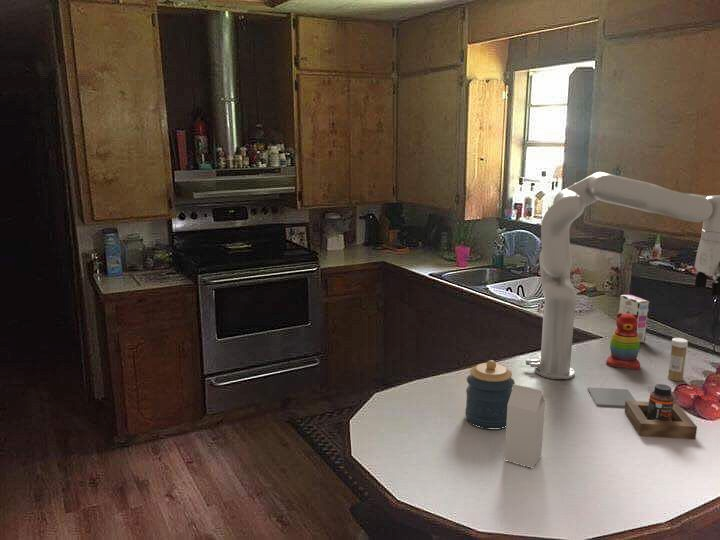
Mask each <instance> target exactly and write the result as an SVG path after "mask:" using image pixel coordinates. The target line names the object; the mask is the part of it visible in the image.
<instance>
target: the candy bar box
mask: <svg viewBox="0 0 720 540" xmlns="http://www.w3.org/2000/svg"><path fill="white" fill-rule="evenodd" d="M649 307H650V301H649V300H646V299H645V298H644V299H643V298H642V297H639V296H636V295H633V294H621V295H620V297H619V307H618V314H619V313H621V314H631V315H633V314H636V315H637V316H638V318H637V321H638V325H637V328H636V329H635V330H636V331H637V333H638V336H639V342H640V344H643V343H646V336H647V326H648V319H649V318H648V317H649V310H650V308H649ZM616 329H618V327H617V326H616Z"/></svg>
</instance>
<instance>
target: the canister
mask: <svg viewBox="0 0 720 540" xmlns="http://www.w3.org/2000/svg"><path fill="white" fill-rule="evenodd" d="M469 372H470V374H469V375H468V376H467V377H466V382H467V383H468V384H467V387H466V389H465V390H466V405H465V412H464V413H465V419H466V418H467V419H466V421H467V420H468V421H469V422H470V423H472V424H474V425H477V426H480V427H483V428H502V427H505V426H506V422H507V404H508V401H509V398H510V395H511V392H512V389H513V384H516V383H515V380H514V379H513V373H512V371H511V370H510V369H508V368H506V367H505V366H504V365H502V364H498V363H497V362H495V360H492V359H489V360H488V361H487V362H482V363H479V364H476V365H474V366H473V367H471V369H470V370H469ZM468 421H467V422H468ZM469 422H468V423H469ZM470 423H469V424H470ZM472 424H471V425H472ZM474 425H473V426H474Z"/></svg>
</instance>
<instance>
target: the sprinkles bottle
mask: <svg viewBox="0 0 720 540" xmlns="http://www.w3.org/2000/svg"><path fill="white" fill-rule="evenodd" d="M688 343H689V341H688V340H687V339H686V338H682V337H673V338H672V339H671V349H670V357H669V365H668V375H667V379H669V380H671V381H674V382H682V381H683V380H684V372H685V367H686V366H685V365H686V355H687V347H688V345H689V344H688Z"/></svg>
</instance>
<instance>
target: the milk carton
mask: <svg viewBox="0 0 720 540" xmlns="http://www.w3.org/2000/svg"><path fill="white" fill-rule="evenodd" d="M545 407H546V399H545V397H544V396H543V389H538V388H534V387H533V388H532V387H528V386H524V385H520V384H516V383H515V384H513V387H512V392H511V395H510V398H509V401H508V404H507V422H506V428H505V442H504V443H505V444H504V459H505V460H508V461H511V462H515V463H518V464H522V465H525V466H529V467H532V468H533V467H534V468H535V467H536V465H537V462H538V461H539V460H540V458H541V457H542V454H543V453H542V452H543V451H542V449H543V438H544V437H543V436H544V423H545V422H544V421H545V410H546V409H545ZM540 456H541V457H540ZM504 459H503V460H504ZM505 460H504V461H505ZM511 462H510V463H511ZM518 464H517V465H518ZM535 464H536V465H535ZM525 466H524V467H525ZM532 468H531V469H532ZM534 468H533V469H534Z"/></svg>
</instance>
